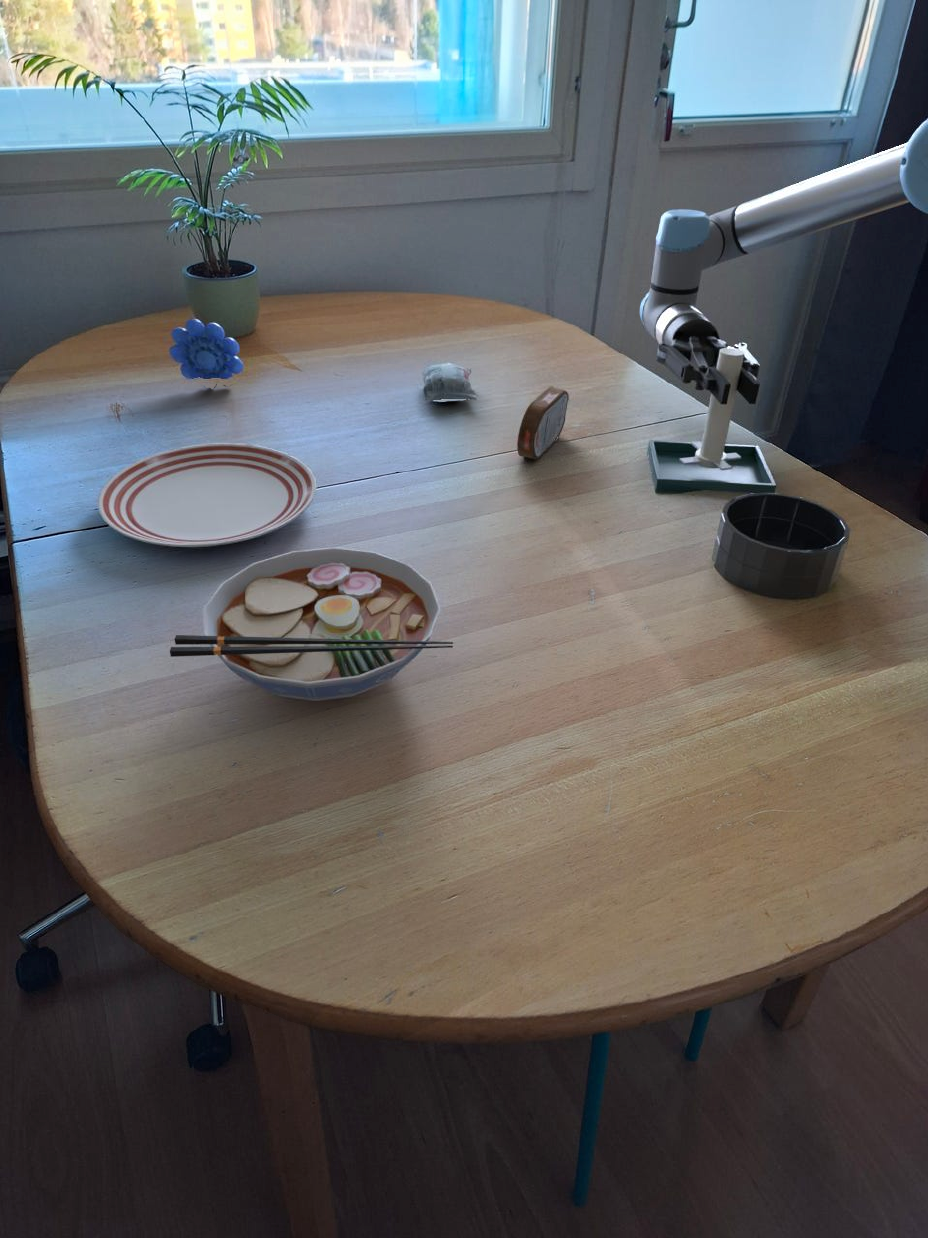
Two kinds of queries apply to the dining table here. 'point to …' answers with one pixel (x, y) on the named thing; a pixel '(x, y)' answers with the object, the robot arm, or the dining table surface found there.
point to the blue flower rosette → (205, 351)
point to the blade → (719, 417)
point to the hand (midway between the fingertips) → (740, 394)
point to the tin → (542, 422)
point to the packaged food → (447, 382)
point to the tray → (708, 470)
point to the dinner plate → (207, 495)
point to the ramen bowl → (318, 622)
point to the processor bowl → (780, 545)
